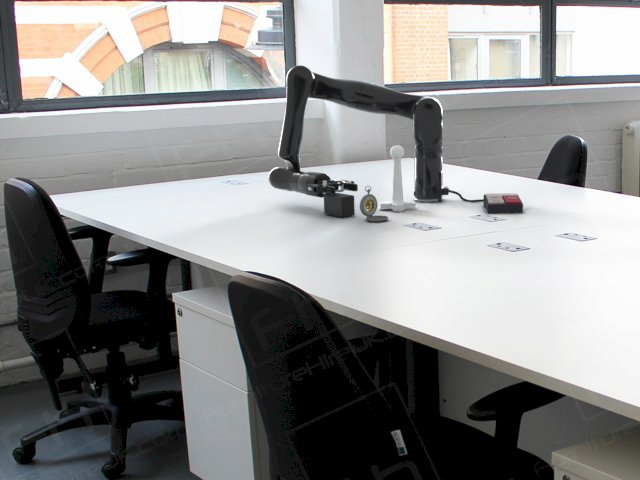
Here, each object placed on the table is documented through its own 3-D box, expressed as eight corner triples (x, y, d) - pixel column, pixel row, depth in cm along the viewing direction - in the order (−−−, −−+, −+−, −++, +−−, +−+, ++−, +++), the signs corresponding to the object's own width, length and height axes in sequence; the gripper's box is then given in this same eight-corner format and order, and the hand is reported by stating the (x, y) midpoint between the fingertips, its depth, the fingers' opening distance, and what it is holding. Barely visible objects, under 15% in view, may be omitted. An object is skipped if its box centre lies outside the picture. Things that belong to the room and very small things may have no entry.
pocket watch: (385, 222, 313) (384, 188, 310) (358, 222, 315) (357, 188, 311) (391, 218, 321) (390, 184, 317) (364, 217, 322) (363, 184, 319)
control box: (487, 201, 324) (483, 192, 337) (487, 215, 325) (483, 205, 339) (523, 201, 324) (517, 191, 338) (522, 215, 325) (517, 204, 339)
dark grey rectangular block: (341, 218, 322) (324, 214, 328) (354, 216, 325) (337, 212, 331) (341, 197, 320) (323, 194, 326) (354, 195, 323) (336, 192, 329)
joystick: (415, 207, 338) (414, 144, 331) (416, 211, 330) (415, 146, 324) (380, 208, 337) (379, 144, 331) (380, 212, 330) (379, 147, 323)
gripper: (295, 174, 327) (326, 179, 316) (331, 169, 336) (363, 174, 324) (296, 198, 330) (327, 204, 318) (332, 193, 338) (364, 199, 327)
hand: (345, 189), depth 321 cm, fingers open, 8 cm apart
